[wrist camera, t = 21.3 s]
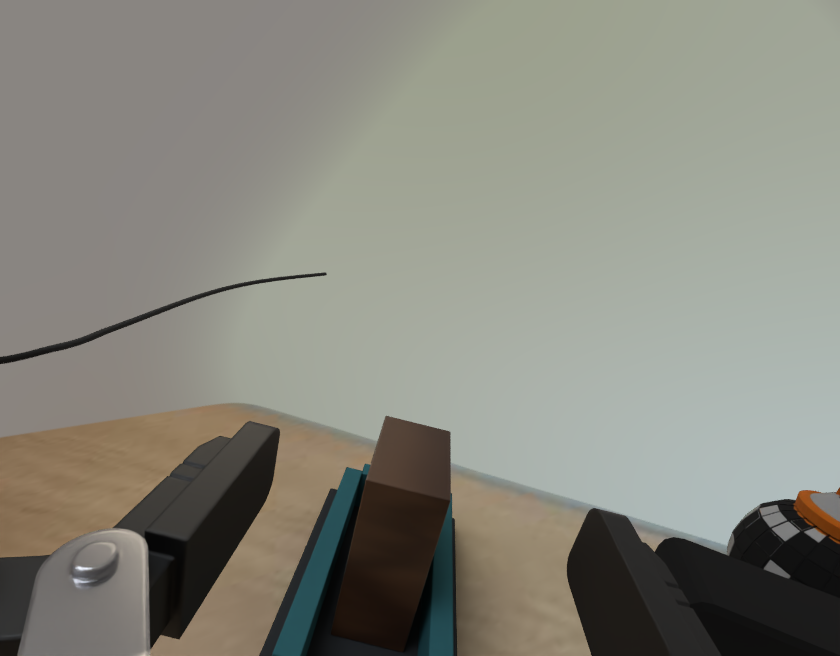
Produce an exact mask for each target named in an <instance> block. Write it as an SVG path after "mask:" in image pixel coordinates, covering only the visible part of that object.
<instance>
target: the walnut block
mask: <svg viewBox="0 0 840 656" xmlns="http://www.w3.org/2000/svg"><path fill="white" fill-rule="evenodd" d="M450 501H451V473H450V432H449V431H446V430H441V429H437V428H433V427H429V426H425V425H421V424H417V423H413V422H409V421H405V420H401V419H397V418H393V417H389V416H386V417H385V420H384V423H383V426H382V430H381V433H380V436H379V439H378V442H377V446H376V449H375V452H374V455H373V458H372V462H371V465H370V468H369V471H368V474H367V478H366V481H365V485H364V490H363V494H362V499H361V503H360V507H359V512H358V516H357V520H356V525H355V529H354V533H353V538H352V542H351V546H350V551H349V555H348V559H347V564H346V568H345V572H344V577H343V581H342V585H341V590H340V594H339V598H338V603H337V607H336V611H335V616H334V620H333V624H332V629H331V635H335V636H339V637H343V638H347V639H351V640H355V641H359V642H363V643H367V644H371V645H375V646H379V647H383V648H387V649H392V650H396V651H400V652H404V649H405V646H406V643H407V640H408V636H409V633H410V630H411V627H412V623H413V620H414V617H415V614H416V611H417V607H418V604H419V601H420V598H421V595H422V591H423V588H424V585H425V582H426V578H427V575H428V572H429V569H430V566H431V562H432V559H433V556H434V553H435V549H436V546H437V543H438V540H439V537H440V533H441V530H442V527H443V524H444V520H445V517H446V514H447V511H448V508H449V504H450Z"/></svg>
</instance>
